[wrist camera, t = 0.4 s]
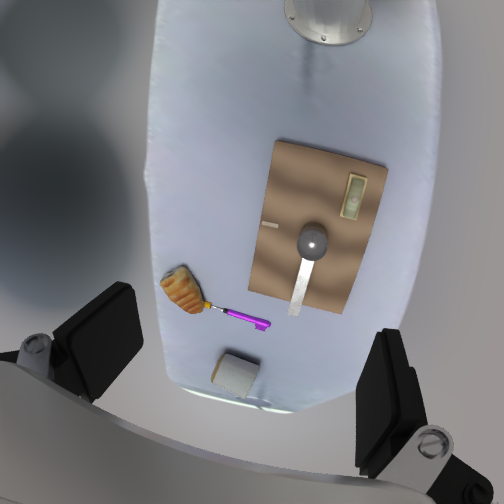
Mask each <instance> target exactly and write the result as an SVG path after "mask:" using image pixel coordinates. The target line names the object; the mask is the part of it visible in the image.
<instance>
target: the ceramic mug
mask: <svg viewBox="0 0 504 504" xmlns="http://www.w3.org/2000/svg"><path fill="white" fill-rule="evenodd" d="M259 368H260V366H259V365H256V364H253V363H251V362H248V361H245V360H243V359H240V358H238V357H235V356H233V355H229V354H223V355H222V356H221V357H220V359H219V360H218V362H217V364H216V367H215V369H214V371H213V374H212V376H211V382H212V383H213V384H214V385H216V386H217V387H219V388H221V389H224V390H226V391H228V392H230V393H232V394H234V395H236V396H238V397H241V398H243V399H245V398H246V397H247V395H248V393H249V391H250V389H251V387H252V385H253V382H254V380H255V378H256V375H257V373H258V371H259Z"/></svg>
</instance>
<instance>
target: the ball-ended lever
mask: <svg viewBox="0 0 504 504" xmlns="http://www.w3.org/2000/svg"><path fill="white" fill-rule="evenodd" d="M297 251H298V253H299V255H300V256H301V257H302V261H301V264H300V268H299V272H298V276H297V279H296V283H295V287H294V290H293V294H292V297H291V301H290V305H289V309H288V313H287V314H289V315H292V316H296V317H298V314H299V311H300V308H301V304H302V301H303V298H304V294H305V291H306V288H307V284H308V281H309V278H310V274H311V271H312V267H313V264H314V261H317V260H319V259H321V258H322V257H324V255H325V254H326V252H327V231H326V229H325V228H324V226H322V225H321V224H319V223H316V222H311V223H308V224H306V225H304V226H303V227H302V229H301V231H300V235H299V238H298V242H297Z"/></svg>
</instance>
